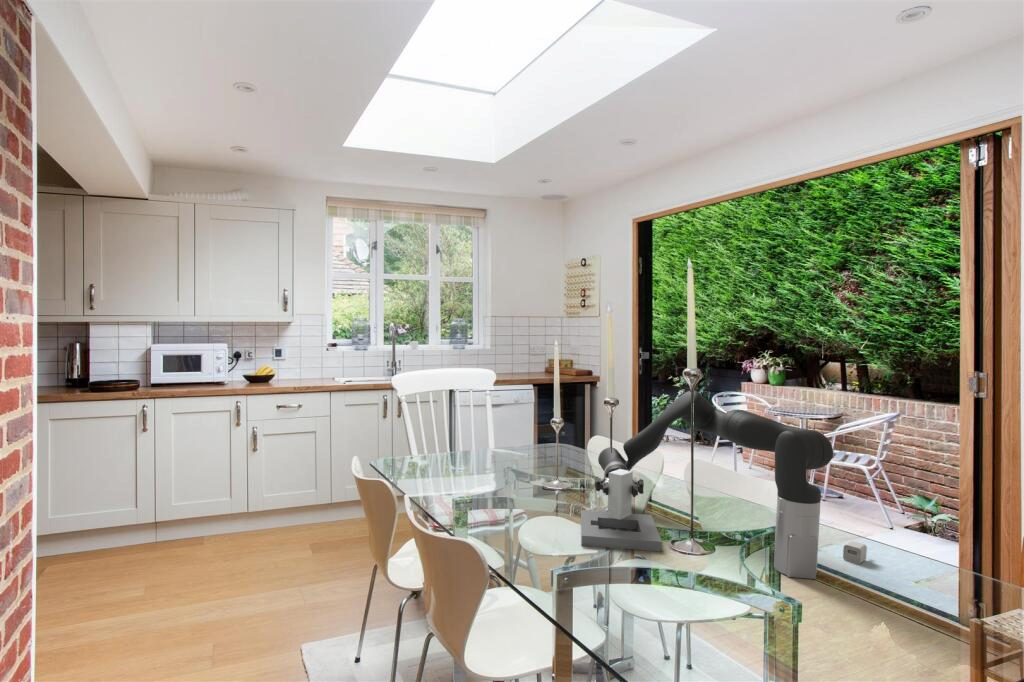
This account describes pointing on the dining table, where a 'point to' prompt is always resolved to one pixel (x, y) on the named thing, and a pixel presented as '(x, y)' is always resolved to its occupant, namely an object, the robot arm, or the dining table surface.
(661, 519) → the dining table surface
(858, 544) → the usb wall charger
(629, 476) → the skincare box
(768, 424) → the robot arm
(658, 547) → the block
